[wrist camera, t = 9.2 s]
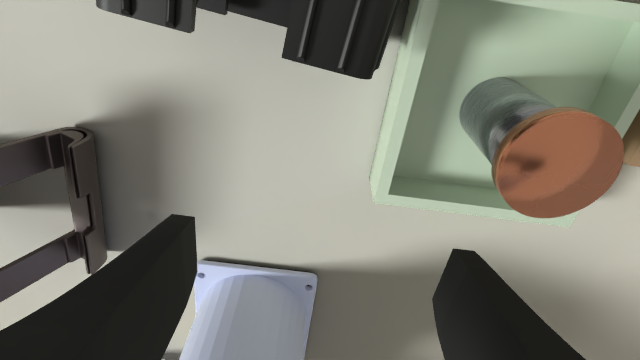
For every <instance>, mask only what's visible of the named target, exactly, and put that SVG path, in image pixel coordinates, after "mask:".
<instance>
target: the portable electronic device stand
mask: <svg viewBox="0 0 640 360" xmlns="http://www.w3.org/2000/svg"><path fill="white" fill-rule="evenodd" d="M62 166H64V169H65V175H66V181H67V187H68V193H69V199H70V205H71V211H72V217H73V223H74V230H73V231H71V232H69V233H67V234H65V235H63V236H61V237H59V238H57V239H56V240H54V241H52V242H50V243H48V244H46V245H44V246H42V247H40V248H38V249H36V250H34V251H33V252H31V253H29V254H27V255H25V256H23V257H21V258H19V259H17V260H15V261H13V262H11V263H9V264H8V265H6V266H4V267H2V268H0V302H2V301H3V300H5V299H7V298H9V297H10V296H12V295H14V294H15V293H17V292H19V291H20V290H22V289H24V288H26V287H27V286H29V285H31V284H32V283H34V282H36V281H38V280H39V279H41V278H43V277H44V276H46V275H48V274H49V273H51V272H53V271H55V270H56V269H58V268H60V267H61V266H63V265H65V264H66V263H68V262H73V261H75V260H77V259H79V258H83V259H85V264H86V271H87V273H88V274H92V275H93V274H94V273H95V272H96V271H97V270H98V269H99V268H100V267H101V266H102V265H103V264H104V263H105V262H106V260H107V249H106V241H105V232H104V224H103V215H102V206H101V198H100V189H99V181H98V172H97V163H96V155H95V146H94V137H93V133H92V132H91V131H90V130H88V129H85V128H80V127H65V128H60V129H56V130H52V131H49V132H45V133H42V134H38V135H34V136H31V137H27V138H24V139H20V140H17V141H13V142H9V143H6V144H2V145H0V187H1V186H3V185H6V184H9V183H12V182H14V181H17V180H20V179H23V178H25V177H28V176H31V175H34V174H36V173H39V172H42V171H45V170H48V169H50V168H51V169H56V168H59V167H62Z"/></svg>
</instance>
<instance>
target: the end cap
mask: <svg viewBox="0 0 640 360" xmlns="http://www.w3.org/2000/svg"><path fill="white" fill-rule="evenodd" d="M400 3H401V0H96V6H97V7H98V8H100V9H102V10H105V11H109V12H112V13H116V14H120V15H123V16H127V17H131V18H135V19H138V20H142V21H146V22H150V23H153V24H157V25H161V26H165V27H168V28H172V29H176V30H179V31H183V32H187V33H191V32H193V31H194V28H195V16H196V7H197V8H201V9H204V10H208V11H212V12H215V13H219V14H223V15H226V14H227V11H229V12H233V13H237V14H240V15H244V16H248V17H251V18H255V19H258V20H262V21H266V22H269V23H273V24H276V25H280V26H284V27H287V33H286V38H285V43H284V48H283V53H282V58H284V59H288V60H292V61H296V62H299V63H303V64H307V65H310V66H314V67H318V68H322V69H325V70H329V71H333V72H337V73H340V74H344V75H348V76H352V77H356V78H360V79H371V78H372V75H373V72H374V71H375V70H376V69H378V68H379V66H380V63H381V60H382V57H383V54H384V51H385V48H386V45H387V42H388V39H389V36H390V33H391V30H392V27H393V24H394V21H395V18H396V15H397V12H398V9H399V6H400Z"/></svg>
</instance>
